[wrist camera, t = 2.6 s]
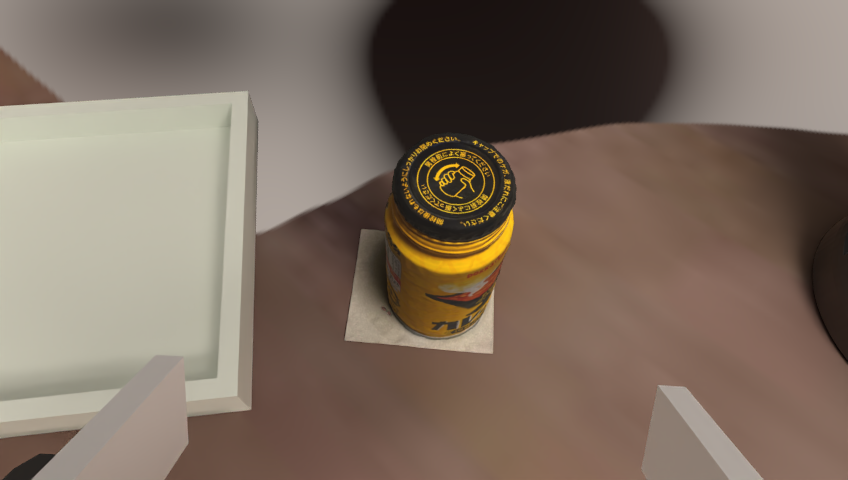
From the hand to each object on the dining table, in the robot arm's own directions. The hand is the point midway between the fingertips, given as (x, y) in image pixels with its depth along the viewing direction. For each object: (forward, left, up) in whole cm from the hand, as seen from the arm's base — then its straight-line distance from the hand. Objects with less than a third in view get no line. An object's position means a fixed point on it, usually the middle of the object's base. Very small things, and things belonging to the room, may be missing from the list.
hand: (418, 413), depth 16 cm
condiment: (-2, -10, -15) cm, 19 cm away
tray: (+18, -14, -15) cm, 27 cm away
